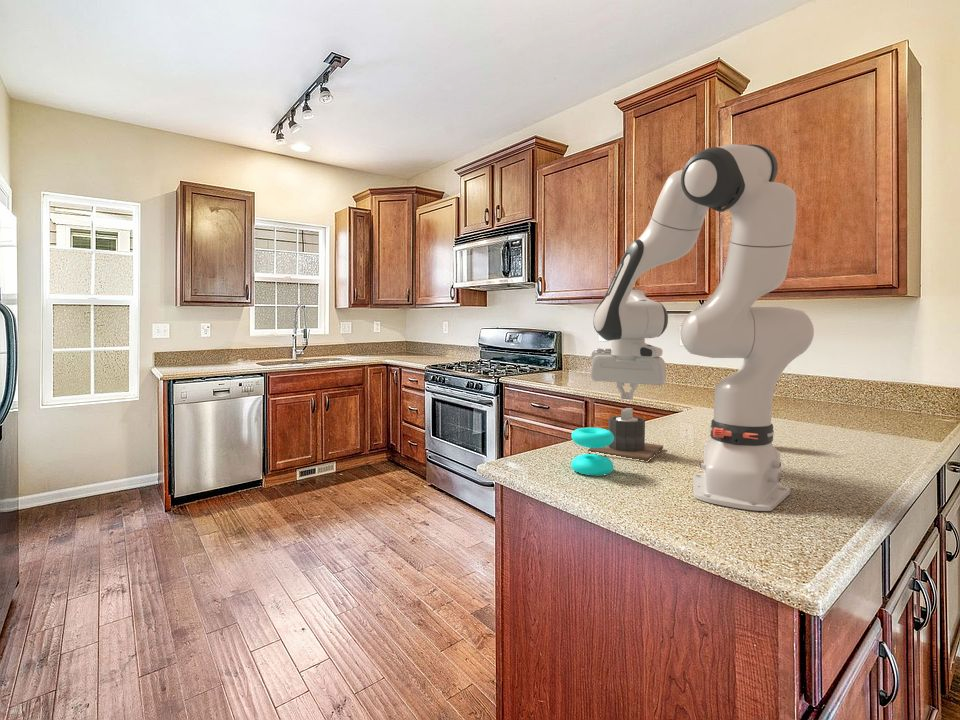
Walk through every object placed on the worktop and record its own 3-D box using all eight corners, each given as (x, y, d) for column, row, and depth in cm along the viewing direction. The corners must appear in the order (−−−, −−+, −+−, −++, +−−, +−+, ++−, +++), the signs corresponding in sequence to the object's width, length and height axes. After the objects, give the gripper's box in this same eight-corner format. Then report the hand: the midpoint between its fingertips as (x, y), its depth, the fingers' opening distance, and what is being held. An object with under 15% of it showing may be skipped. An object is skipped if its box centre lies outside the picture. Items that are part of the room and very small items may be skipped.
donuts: (567, 426, 124) (606, 426, 124) (566, 465, 125) (606, 465, 125) (577, 435, 114) (619, 434, 115) (576, 478, 115) (619, 477, 115)
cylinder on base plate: (647, 462, 127) (648, 427, 127) (588, 453, 136) (588, 420, 136) (663, 449, 141) (663, 417, 140) (608, 442, 150) (608, 411, 149)
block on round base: (634, 428, 134) (634, 412, 134) (613, 426, 137) (613, 410, 137) (640, 425, 139) (640, 408, 139) (619, 423, 142) (619, 407, 142)
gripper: (587, 348, 140) (586, 397, 141) (662, 351, 128) (661, 403, 129) (595, 347, 145) (594, 394, 146) (668, 349, 133) (667, 400, 135)
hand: (626, 399), depth 138 cm, fingers closed
